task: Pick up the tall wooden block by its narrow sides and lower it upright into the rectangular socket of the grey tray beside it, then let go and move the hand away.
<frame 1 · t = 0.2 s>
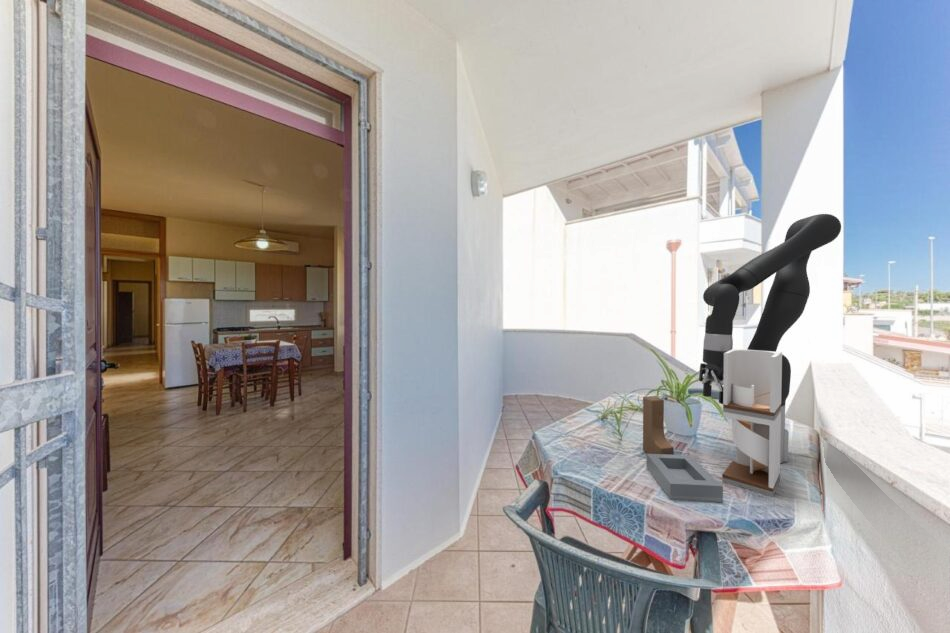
hand: (714, 399, 112), 18 cm above the table, tool pointing down, fingers open, 8 cm apart
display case: (751, 481, 97), on the table
grey tray: (680, 482, 97), on the table
wooden block: (657, 456, 114), on the table
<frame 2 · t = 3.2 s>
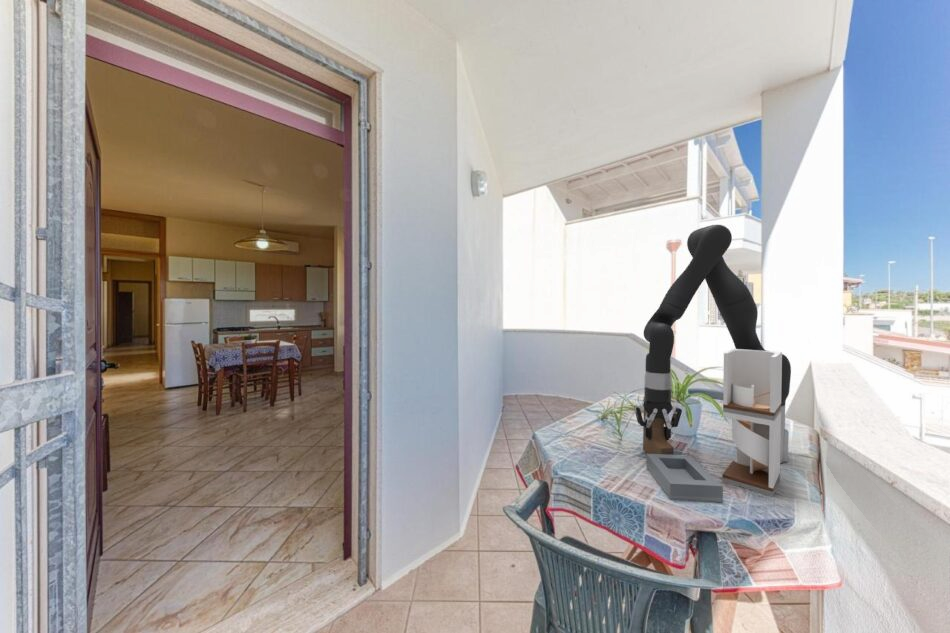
hand: (657, 438, 113), 5 cm above the table, tool pointing down, fingers closed on wooden block, 5 cm apart
wooden block: (657, 456, 114), on the table, touching gripper
everything else where it was.
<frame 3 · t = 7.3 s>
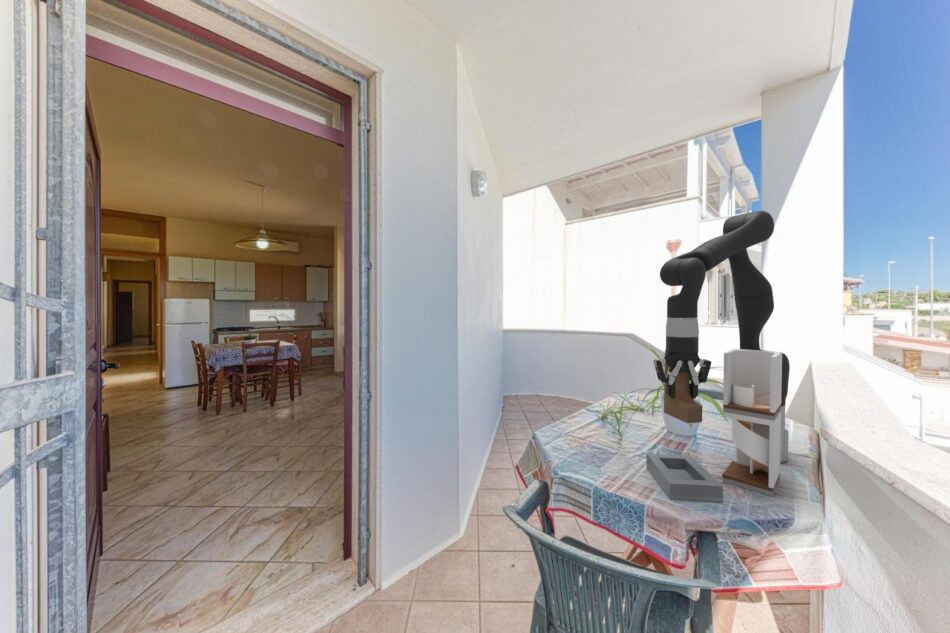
hand: (681, 397, 96), 23 cm above the table, tool pointing down, fingers closed on wooden block, 4 cm apart
wooden block: (682, 418, 96), point 18 cm above the table, touching gripper
everything else where it was.
when the fingers open (7 cm above the table, at t = 11.5 s): wooden block drops 1 cm, resting on grey tray.
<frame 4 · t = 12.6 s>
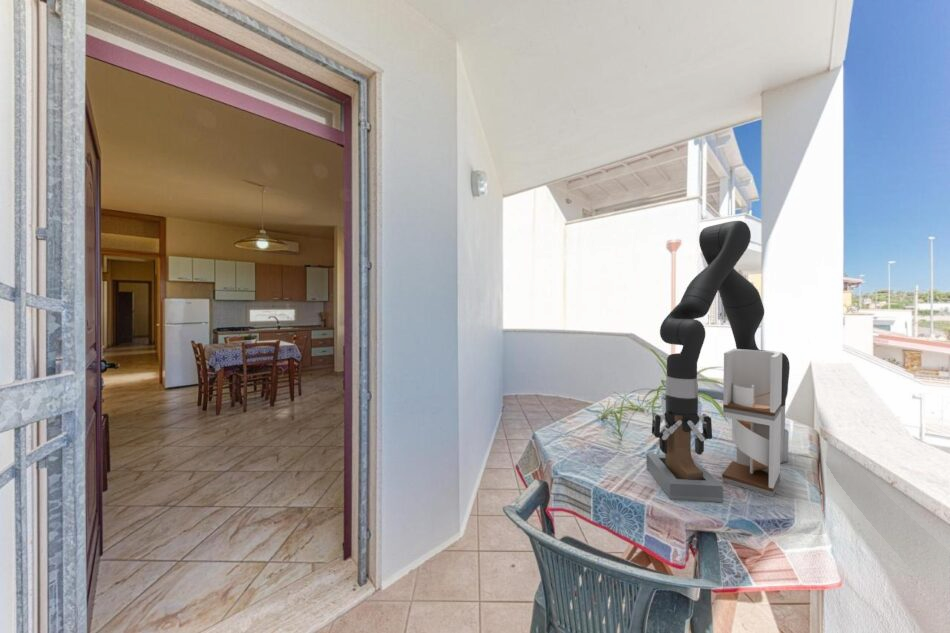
hand: (681, 452, 96), 8 cm above the table, tool pointing down, fingers open, 8 cm apart
wooden block: (683, 481, 96), point 1 cm above the table, touching grey tray
everything else where it was.
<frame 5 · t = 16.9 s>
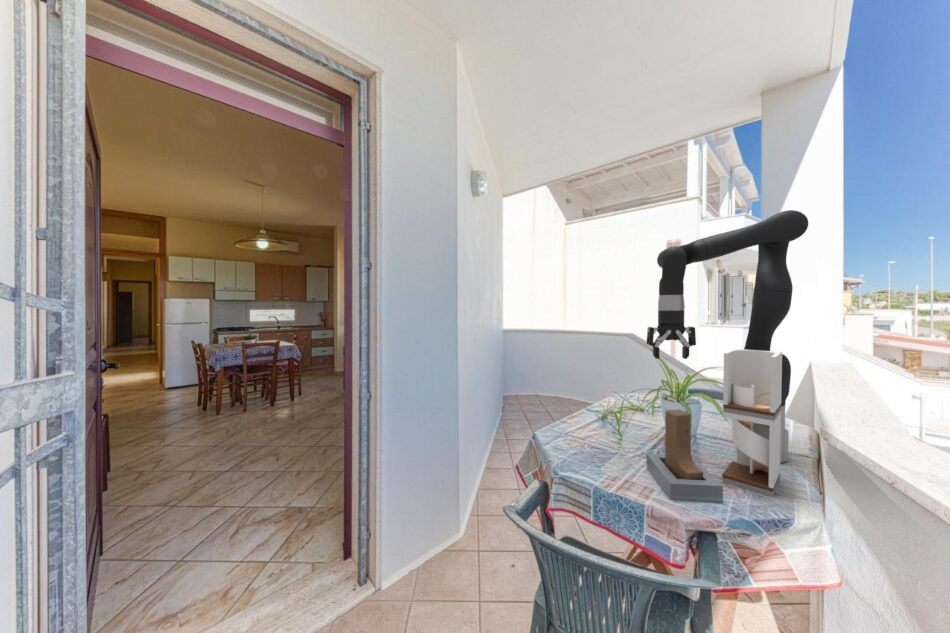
hand: (670, 358, 117), 30 cm above the table, tool pointing down, fingers open, 8 cm apart
nothing on the table moved.
at the end: wooden block 1.0 cm off-centre on the grey tray, point 0.8 cm above the grey tray's base; wooden block tilted 0°; the gripper is holding nothing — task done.
